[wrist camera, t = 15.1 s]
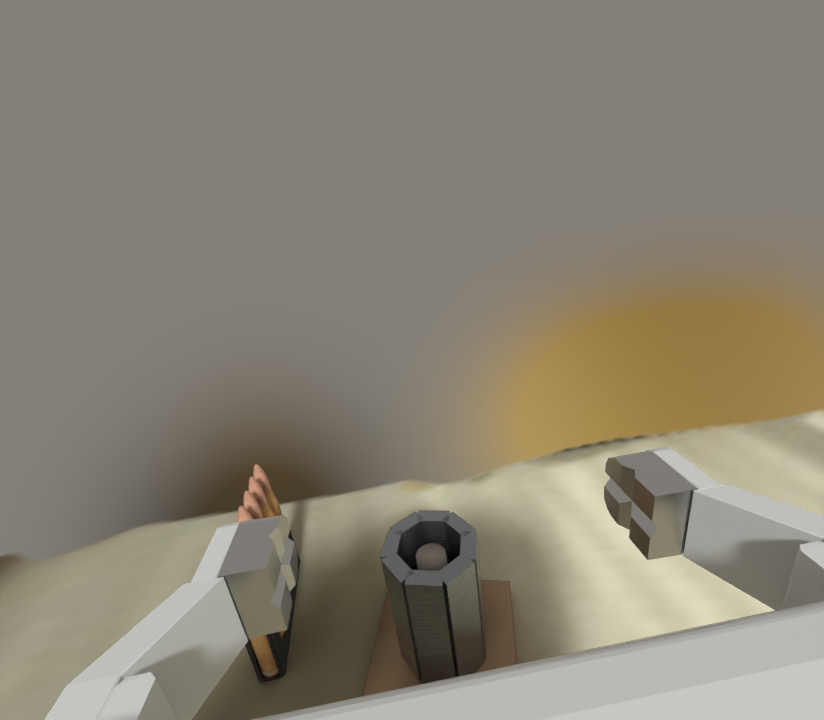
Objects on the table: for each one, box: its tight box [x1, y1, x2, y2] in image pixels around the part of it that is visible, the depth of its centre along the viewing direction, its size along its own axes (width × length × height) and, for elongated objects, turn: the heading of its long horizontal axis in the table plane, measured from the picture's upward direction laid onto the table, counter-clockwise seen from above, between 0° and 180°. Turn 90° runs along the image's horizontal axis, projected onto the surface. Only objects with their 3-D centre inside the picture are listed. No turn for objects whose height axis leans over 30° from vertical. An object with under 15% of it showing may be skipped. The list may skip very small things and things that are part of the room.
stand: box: [363, 543, 516, 696], centre depth 27 cm, size 10×10×9 cm
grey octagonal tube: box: [381, 511, 486, 684], centre depth 27 cm, size 6×6×9 cm
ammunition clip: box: [238, 464, 300, 682], centre depth 31 cm, size 11×2×12 cm, turn 10°
